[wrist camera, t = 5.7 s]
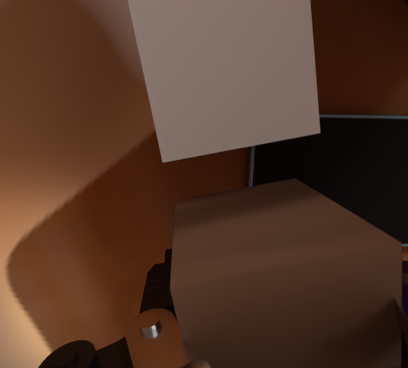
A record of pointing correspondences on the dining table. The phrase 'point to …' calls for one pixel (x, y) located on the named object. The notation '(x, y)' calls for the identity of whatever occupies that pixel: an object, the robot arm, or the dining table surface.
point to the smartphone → (347, 166)
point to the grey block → (227, 72)
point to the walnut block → (284, 281)
